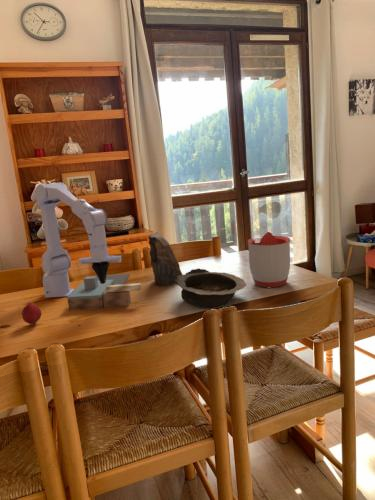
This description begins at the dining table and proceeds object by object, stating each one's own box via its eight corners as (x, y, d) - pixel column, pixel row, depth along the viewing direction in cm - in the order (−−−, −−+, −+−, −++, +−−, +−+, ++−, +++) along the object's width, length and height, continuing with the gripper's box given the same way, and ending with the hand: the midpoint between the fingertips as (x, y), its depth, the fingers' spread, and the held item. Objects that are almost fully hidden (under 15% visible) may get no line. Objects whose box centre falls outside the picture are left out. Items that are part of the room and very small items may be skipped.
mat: (83, 291, 158) (83, 290, 158) (97, 276, 178) (97, 275, 178) (120, 288, 157) (120, 288, 157) (130, 274, 177) (130, 273, 177)
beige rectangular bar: (106, 292, 138) (105, 286, 137) (108, 290, 140) (107, 285, 139) (140, 290, 137) (139, 284, 136) (141, 288, 139) (140, 283, 138)
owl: (161, 288, 154) (156, 238, 150) (142, 282, 163) (136, 235, 159) (184, 280, 162) (180, 232, 158) (165, 275, 171) (160, 230, 167)
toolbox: (69, 310, 138) (67, 297, 137) (85, 293, 155) (83, 281, 154) (128, 307, 136) (126, 293, 135) (137, 290, 154) (136, 278, 153)
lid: (67, 299, 137) (65, 286, 136) (83, 283, 155) (81, 271, 153) (101, 297, 136) (99, 284, 135) (113, 281, 154) (112, 269, 153)
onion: (31, 329, 124) (27, 305, 122) (20, 326, 127) (15, 303, 125) (46, 322, 129) (42, 299, 127) (35, 319, 132) (31, 297, 130)
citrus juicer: (271, 273, 161) (269, 225, 157) (300, 284, 146) (299, 231, 141) (239, 281, 155) (236, 231, 150) (265, 293, 139) (263, 237, 135)
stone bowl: (164, 296, 143) (163, 272, 142) (224, 288, 153) (224, 265, 151) (191, 318, 121) (191, 289, 119) (260, 307, 131) (261, 280, 129)
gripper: (73, 249, 132) (79, 287, 135) (116, 246, 131) (121, 285, 134) (80, 244, 139) (85, 281, 142) (120, 241, 137) (125, 278, 141)
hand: (103, 282), depth 138 cm, fingers closed
